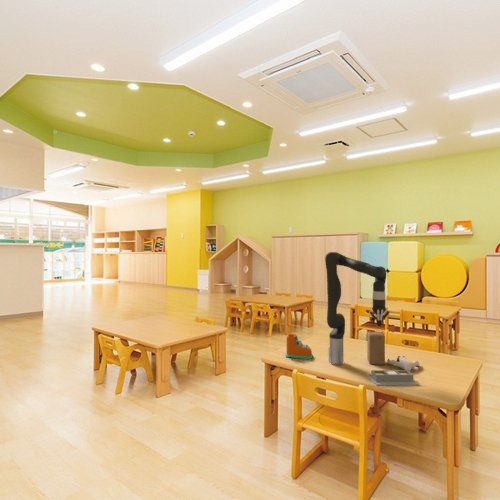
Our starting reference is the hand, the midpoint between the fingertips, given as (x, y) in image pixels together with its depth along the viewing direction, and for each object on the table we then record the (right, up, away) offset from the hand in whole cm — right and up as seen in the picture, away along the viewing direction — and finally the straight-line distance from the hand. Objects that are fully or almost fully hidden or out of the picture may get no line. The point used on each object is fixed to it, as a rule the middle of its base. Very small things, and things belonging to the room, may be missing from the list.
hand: (379, 325), depth 213 cm
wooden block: (+5, -29, +18) cm, 35 cm away
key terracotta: (+9, -28, -14) cm, 32 cm away
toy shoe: (-46, -30, +32) cm, 63 cm away
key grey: (+2, -27, -14) cm, 30 cm away
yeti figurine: (+20, -30, +9) cm, 37 cm away
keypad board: (+2, -29, -14) cm, 32 cm away
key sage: (-5, -28, -14) cm, 31 cm away
